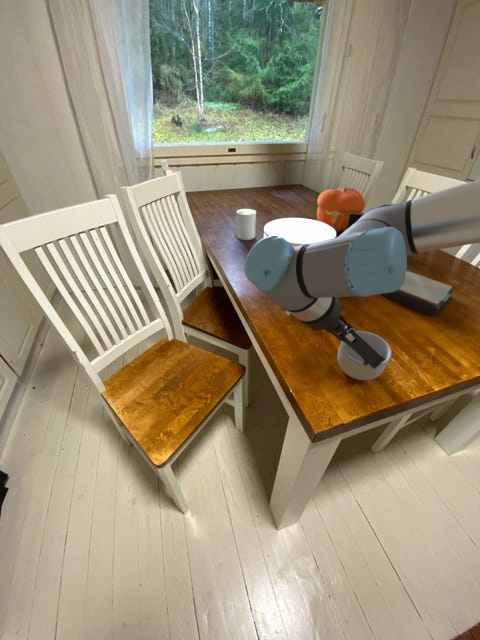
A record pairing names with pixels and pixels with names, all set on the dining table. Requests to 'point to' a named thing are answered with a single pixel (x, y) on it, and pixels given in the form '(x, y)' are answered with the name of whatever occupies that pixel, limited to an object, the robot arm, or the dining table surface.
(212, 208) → the dining table surface
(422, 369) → the dining table surface
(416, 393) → the dining table surface
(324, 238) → the plate stack
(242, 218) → the can
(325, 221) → the pumpkin
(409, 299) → the scale
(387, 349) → the teacup
